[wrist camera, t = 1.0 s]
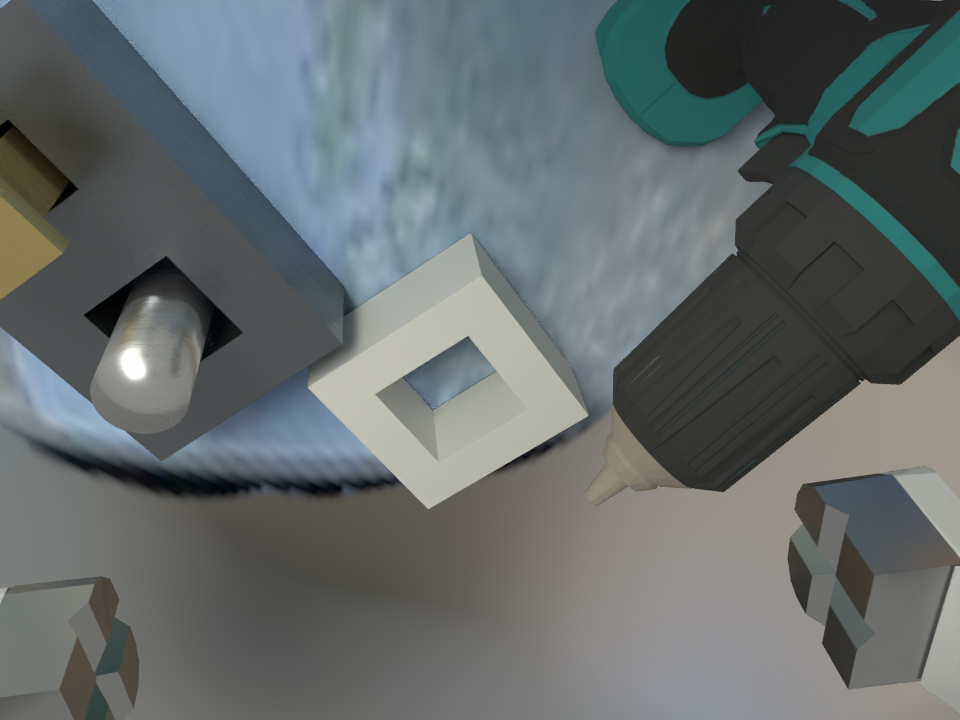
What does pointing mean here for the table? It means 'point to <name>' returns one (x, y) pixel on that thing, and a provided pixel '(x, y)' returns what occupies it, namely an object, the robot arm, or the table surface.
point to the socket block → (150, 221)
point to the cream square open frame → (473, 413)
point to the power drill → (791, 221)
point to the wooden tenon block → (26, 210)
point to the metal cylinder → (153, 352)
